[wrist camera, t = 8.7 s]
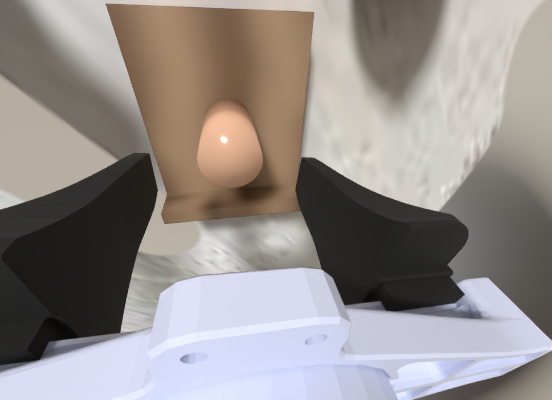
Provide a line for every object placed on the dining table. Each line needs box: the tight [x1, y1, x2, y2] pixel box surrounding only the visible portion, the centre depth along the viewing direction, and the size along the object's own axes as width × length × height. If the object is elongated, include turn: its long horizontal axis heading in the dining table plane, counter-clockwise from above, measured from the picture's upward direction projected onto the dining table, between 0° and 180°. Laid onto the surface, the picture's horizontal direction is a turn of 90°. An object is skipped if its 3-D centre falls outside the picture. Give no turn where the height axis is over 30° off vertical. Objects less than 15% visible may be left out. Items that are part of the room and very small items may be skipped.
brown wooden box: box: [106, 4, 314, 224], centre depth 17 cm, size 11×13×5 cm
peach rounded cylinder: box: [197, 99, 263, 188], centre depth 14 cm, size 3×3×6 cm
